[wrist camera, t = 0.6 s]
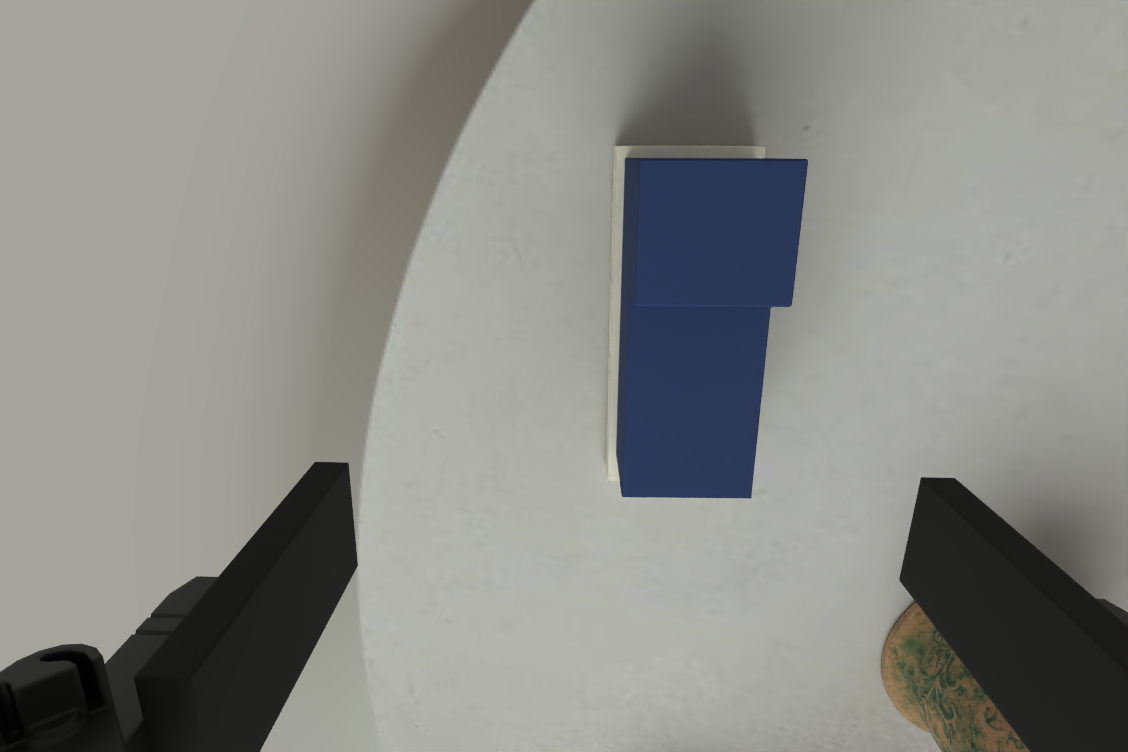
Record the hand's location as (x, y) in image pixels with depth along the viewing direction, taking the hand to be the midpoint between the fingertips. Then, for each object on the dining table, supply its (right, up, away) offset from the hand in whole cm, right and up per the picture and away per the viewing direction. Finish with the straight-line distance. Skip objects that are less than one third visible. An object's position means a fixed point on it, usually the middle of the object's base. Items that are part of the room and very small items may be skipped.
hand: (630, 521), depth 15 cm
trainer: (+4, +6, +17) cm, 19 cm away
